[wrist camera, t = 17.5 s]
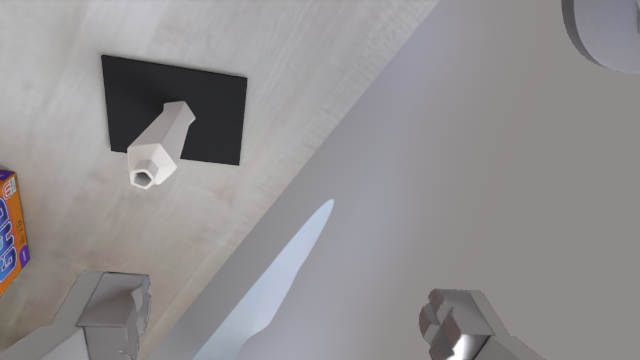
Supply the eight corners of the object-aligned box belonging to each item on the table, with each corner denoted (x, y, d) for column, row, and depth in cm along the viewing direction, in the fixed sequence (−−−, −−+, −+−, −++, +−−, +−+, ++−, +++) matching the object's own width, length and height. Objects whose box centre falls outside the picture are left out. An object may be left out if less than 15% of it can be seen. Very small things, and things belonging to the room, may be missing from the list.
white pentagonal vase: (149, 106, 43) (100, 169, 31) (181, 92, 43) (145, 149, 30) (172, 138, 46) (135, 207, 33) (202, 124, 45) (176, 189, 33)
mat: (247, 78, 44) (247, 79, 43) (239, 163, 50) (238, 165, 49) (102, 54, 40) (100, 55, 40) (112, 149, 46) (111, 151, 46)
